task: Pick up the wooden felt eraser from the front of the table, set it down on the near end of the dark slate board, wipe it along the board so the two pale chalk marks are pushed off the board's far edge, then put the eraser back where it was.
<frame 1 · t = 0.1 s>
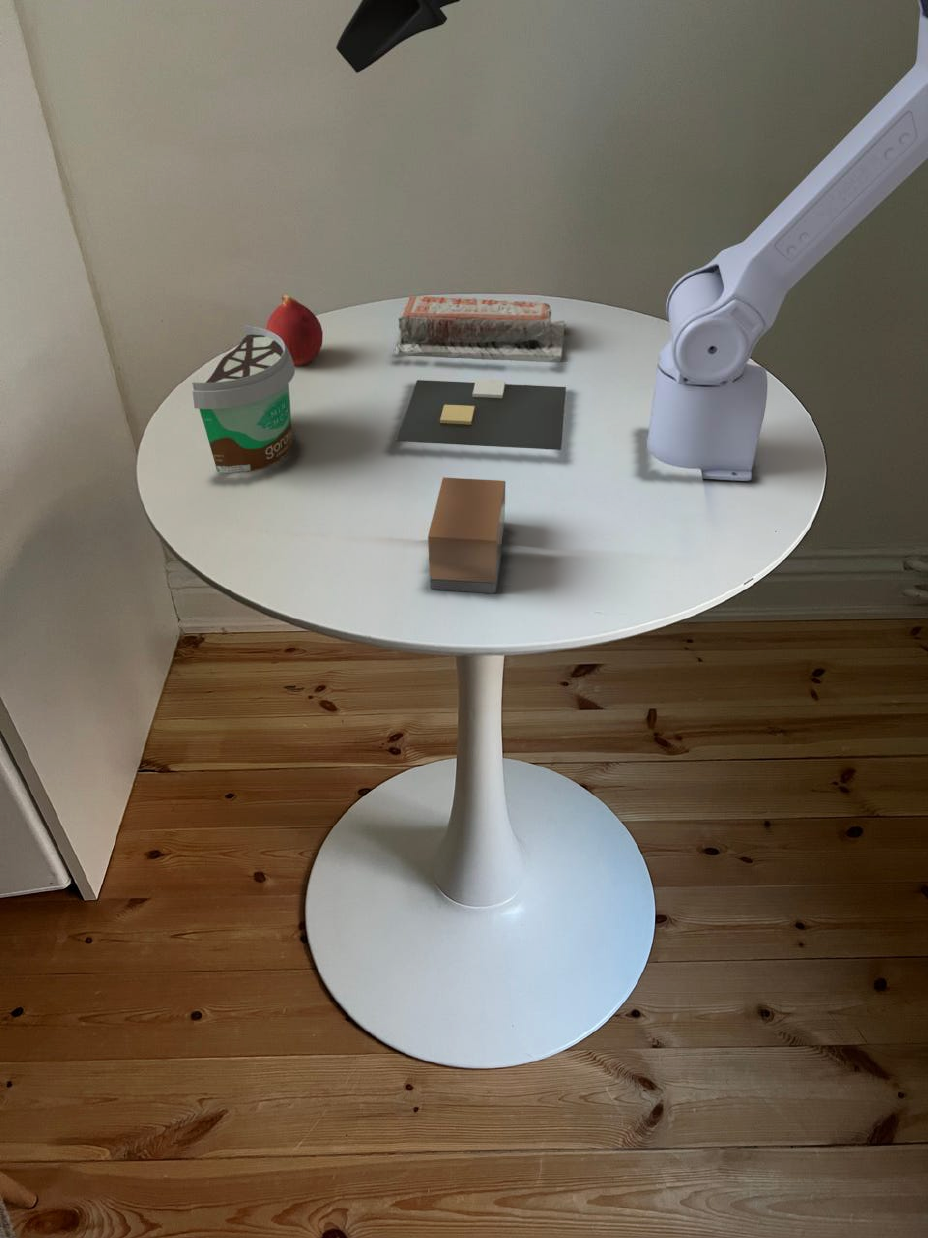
hand: (357, 48, 66), 32 cm above the table, tool tilted 50°, fingers open, 7 cm apart
food container: (271, 458, 85), on the table
chalk mark a: (489, 390, 92), point 1 cm above the table, touching slate board
eraser: (468, 559, 73), on the table
packaged product: (481, 348, 102), on the table
chalk mark b: (457, 416, 88), point 1 cm above the table, touching slate board
onion: (299, 369, 99), on the table
slate board: (484, 421, 89), on the table
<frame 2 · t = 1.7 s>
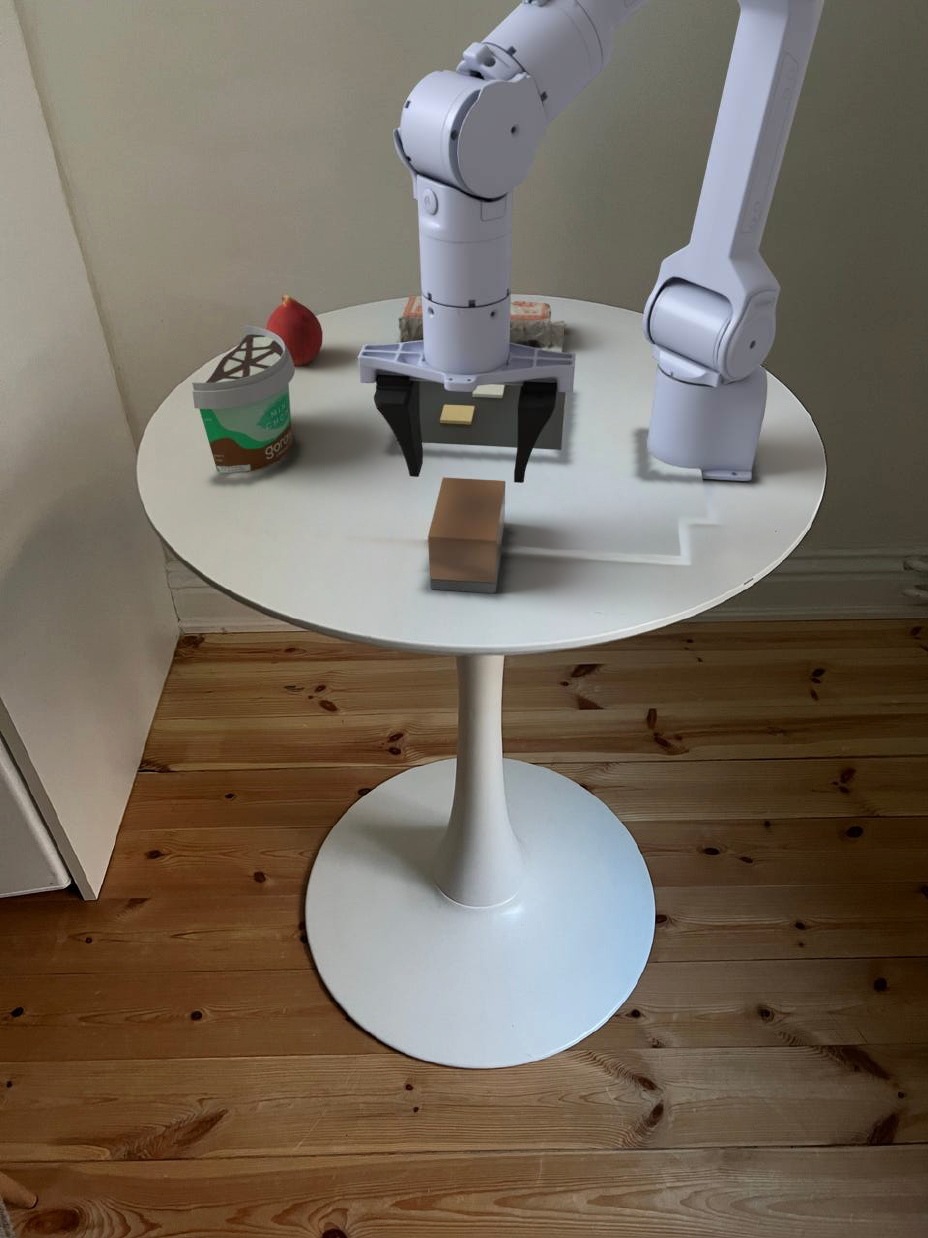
hand: (467, 472, 68), 8 cm above the table, tool pointing down, fingers open, 7 cm apart
nothing on the table moved.
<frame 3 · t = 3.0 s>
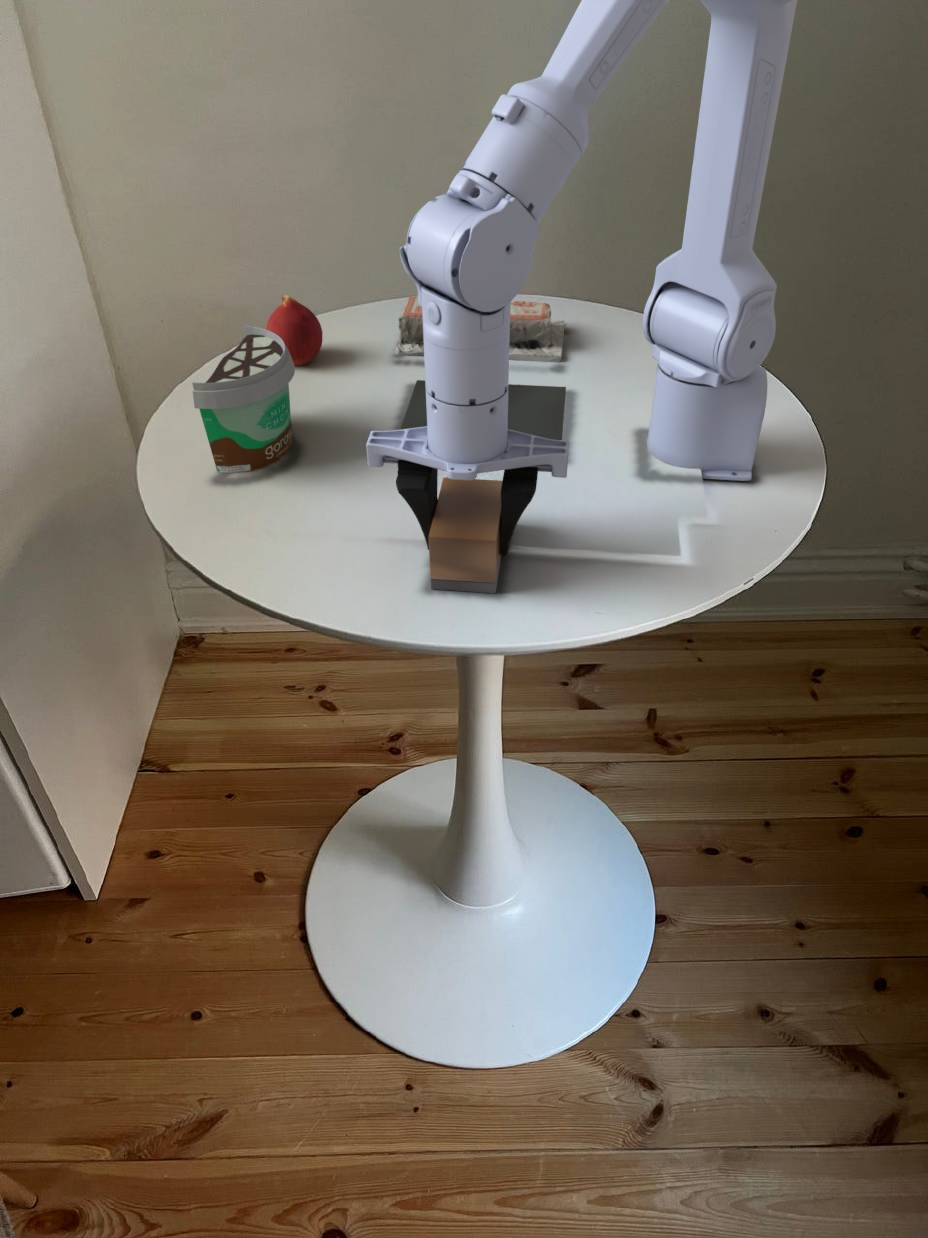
hand: (468, 545, 72), 1 cm above the table, tool pointing down, fingers closed on eraser, 5 cm apart
eraser: (469, 559, 73), on the table, touching gripper
everything else where it was.
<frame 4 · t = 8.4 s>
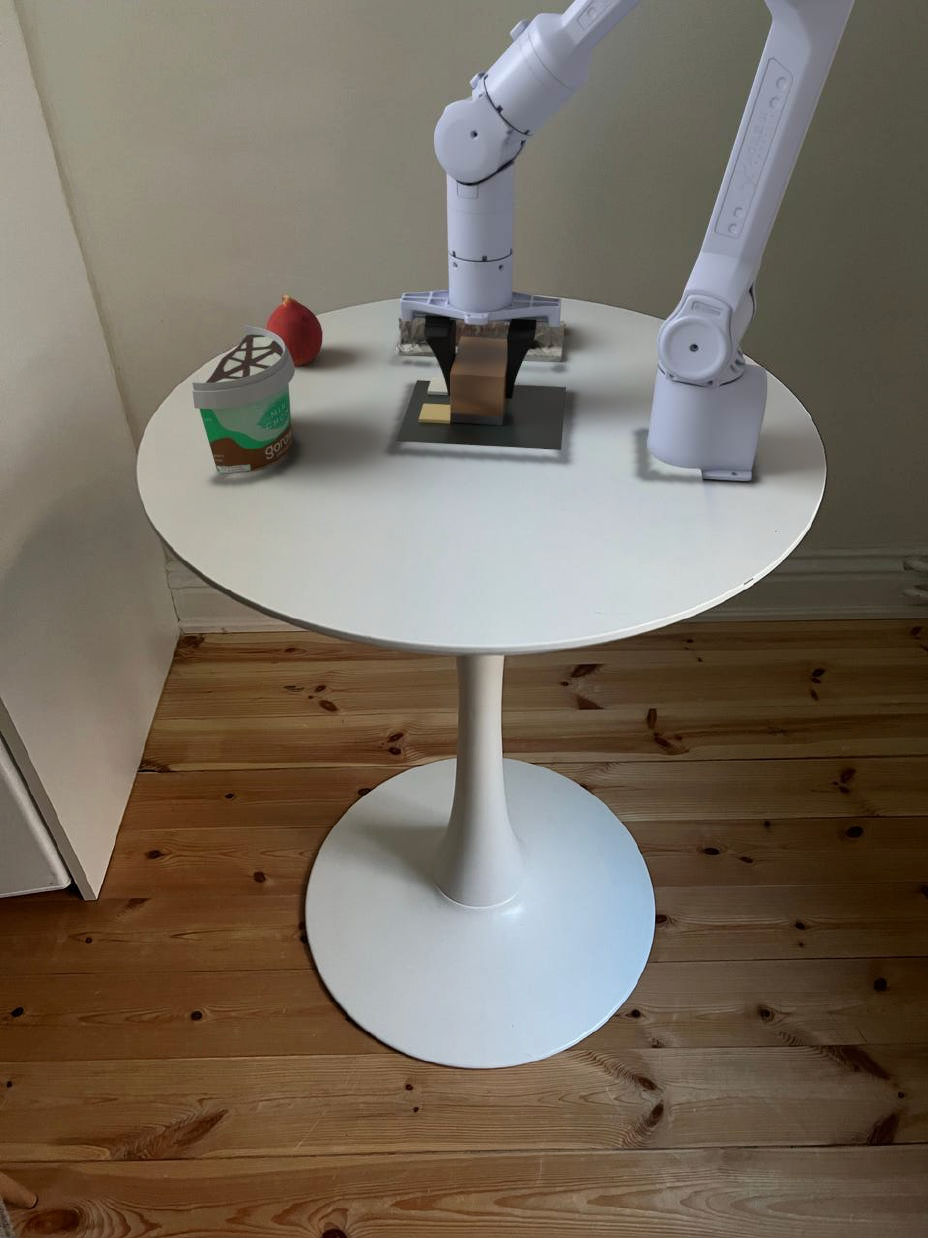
hand: (480, 392, 89), 2 cm above the table, tool pointing down, fingers closed on eraser, 5 cm apart
chalk mark a: (444, 388, 93), point 1 cm above the table
eraser: (480, 403, 90), point 1 cm above the table, touching chalk mark b, gripper
chalk mark b: (436, 415, 88), point 1 cm above the table, touching eraser, slate board
everything else where it was.
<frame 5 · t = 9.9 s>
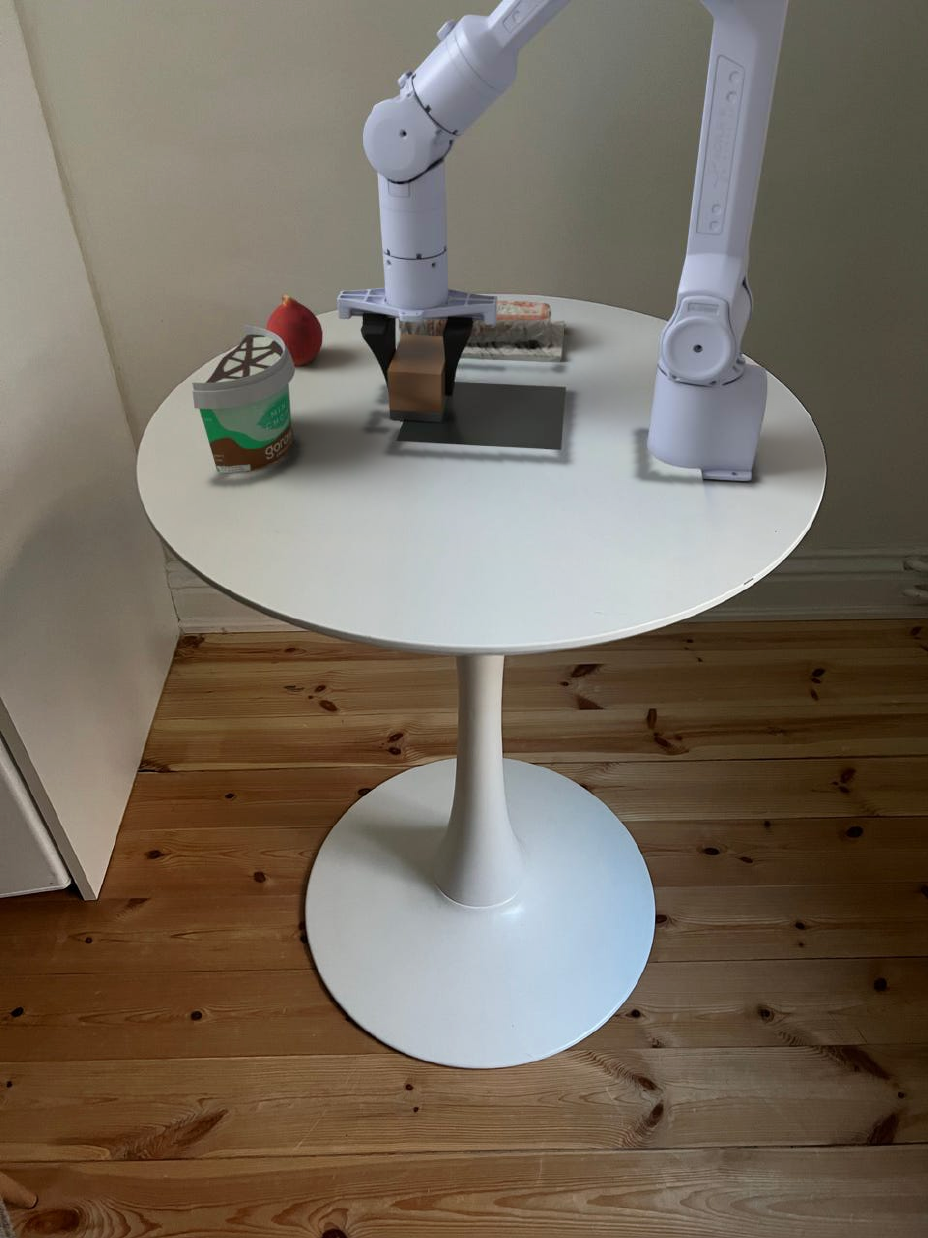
hand: (421, 389, 90), 2 cm above the table, tool pointing down, fingers closed on eraser, 5 cm apart
chalk mark a: (400, 391, 94), on the table, tilted 13°, touching slate board
eraser: (421, 400, 91), point 1 cm above the table, touching gripper
chalk mark b: (388, 419, 89), on the table, tilted 12°, touching slate board
everything else where it was.
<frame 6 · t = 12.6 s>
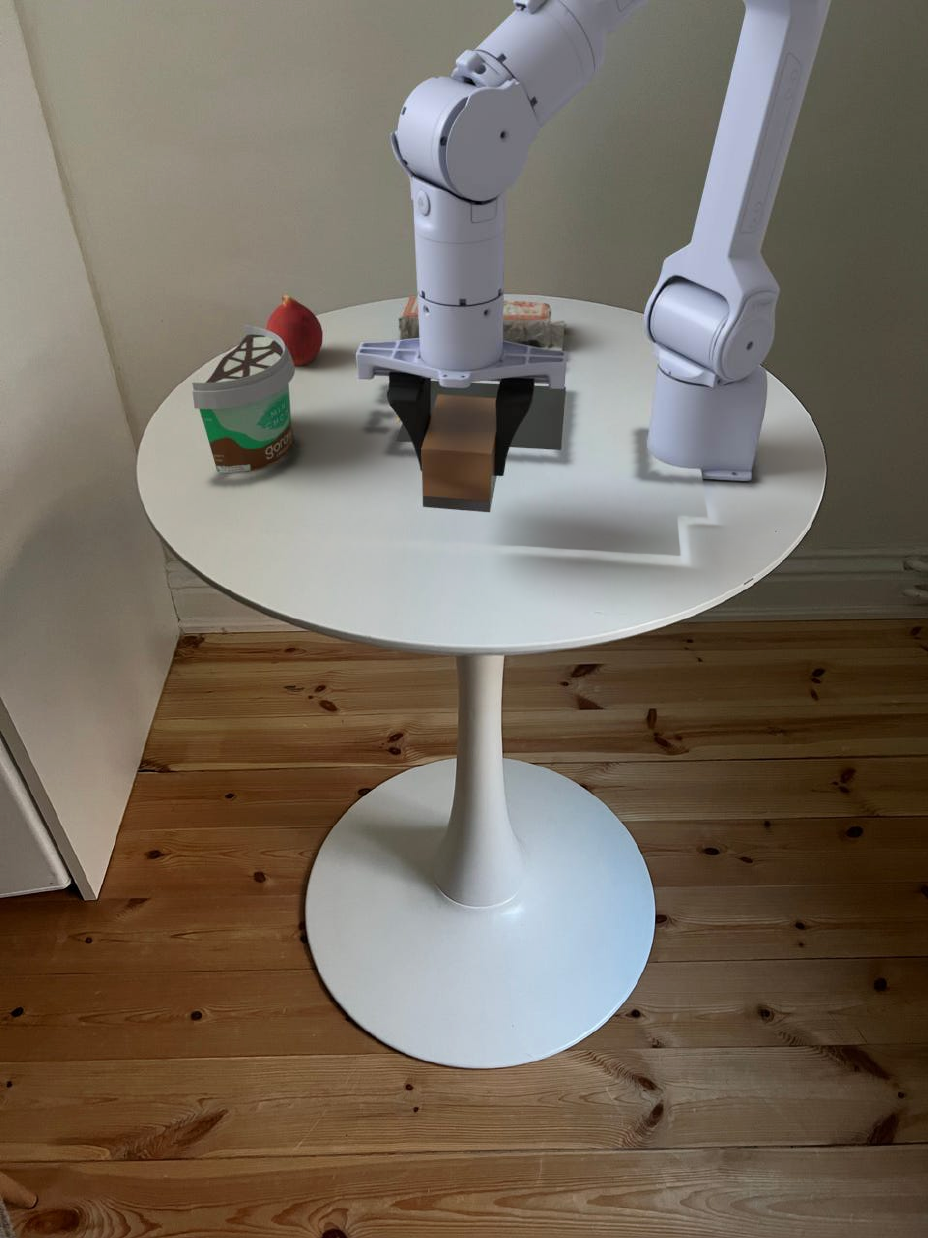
hand: (462, 466, 69), 7 cm above the table, tool pointing down, fingers closed on eraser, 5 cm apart
eraser: (463, 480, 70), point 6 cm above the table, touching gripper
everything else where it was.
when the fingers open (1 cm above the table, at t = 14.9 s): eraser stays where it is, on the table.
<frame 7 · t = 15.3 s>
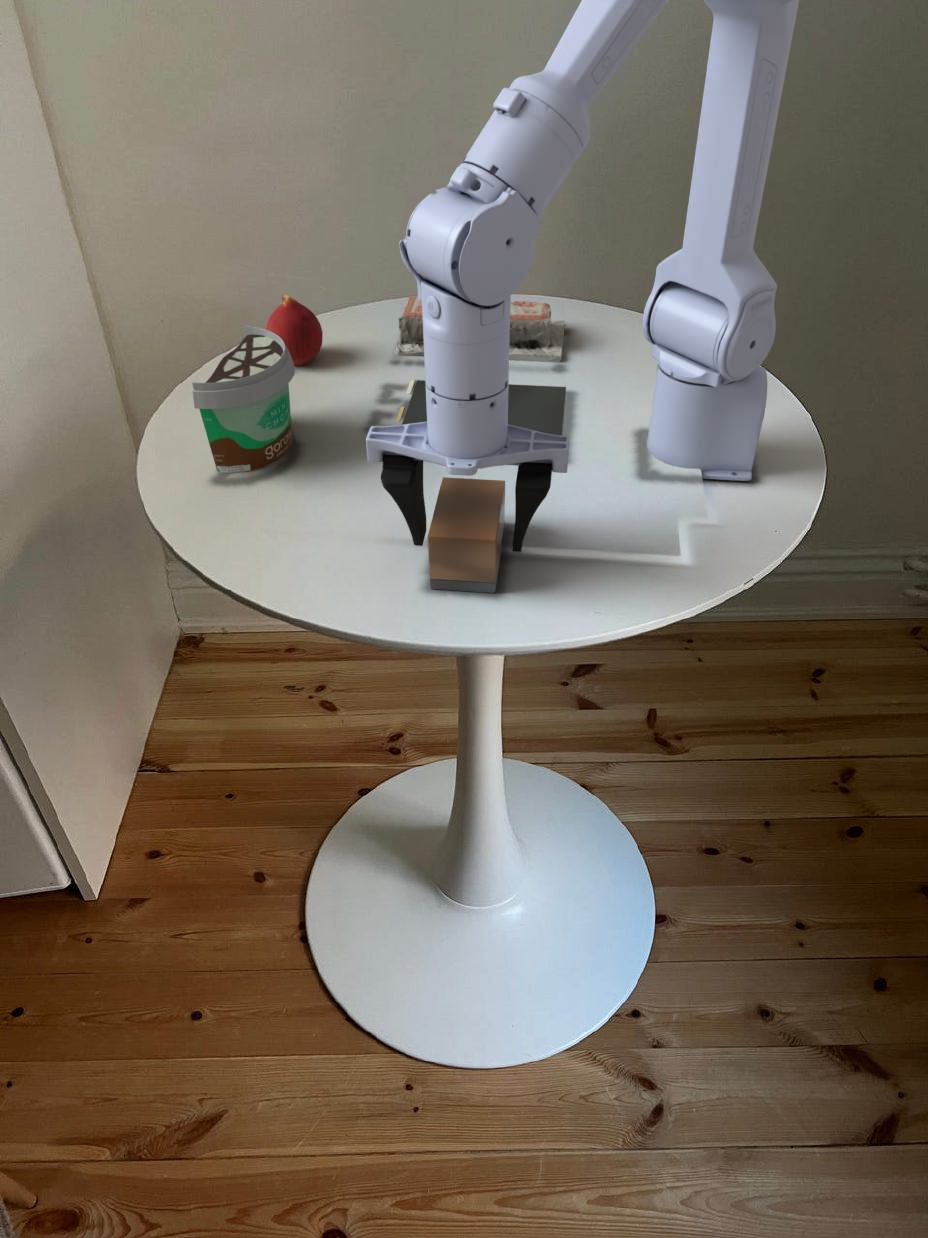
hand: (468, 541, 72), 2 cm above the table, tool pointing down, fingers open, 7 cm apart
eraser: (468, 559, 73), on the table
everything else where it was.
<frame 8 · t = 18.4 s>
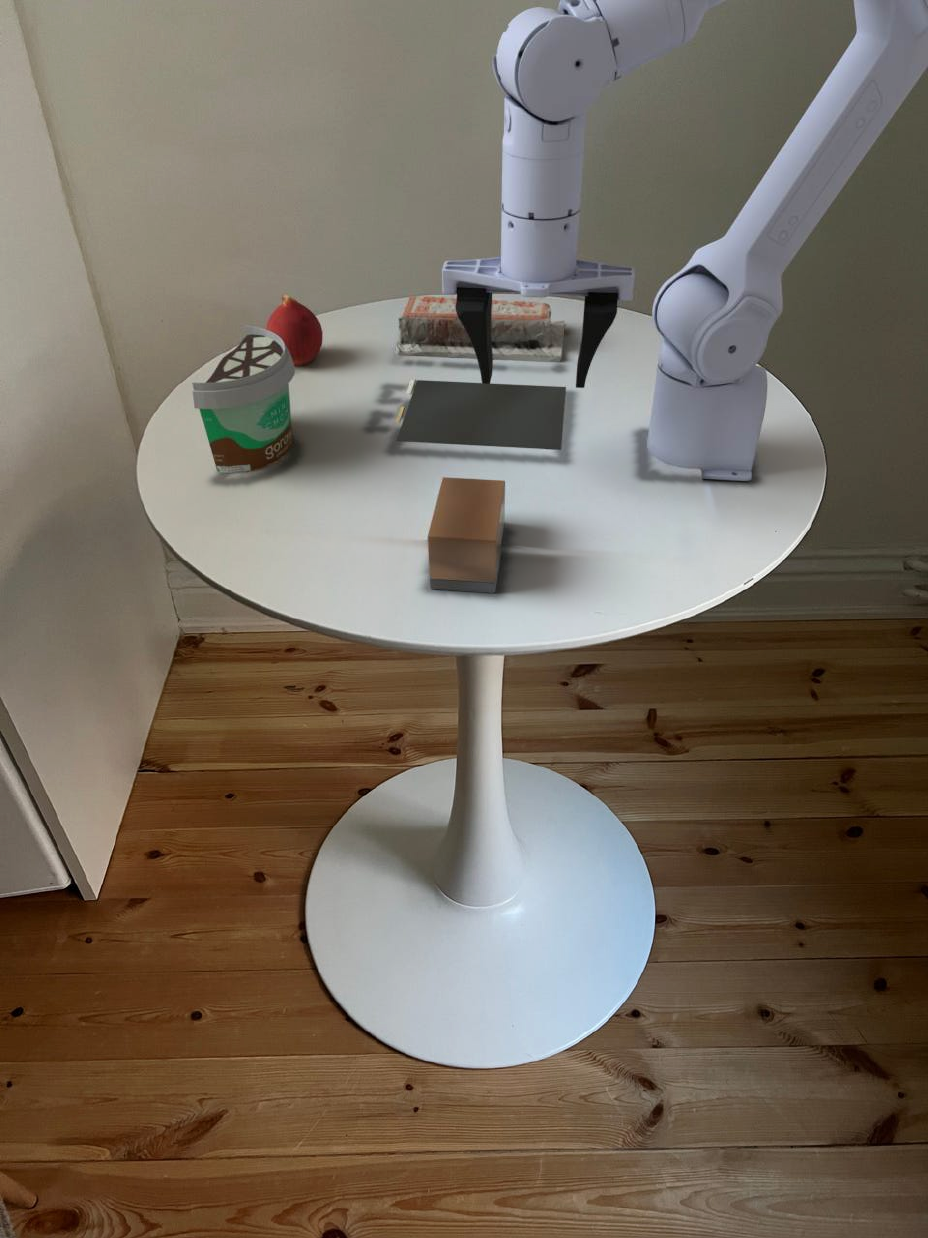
hand: (533, 380, 76), 9 cm above the table, tool pointing down, fingers open, 7 cm apart
nothing on the table moved.
at the end: chalk mark a on the table; chalk mark b on the table; eraser inside the target area (0.0 cm from its centre), on the table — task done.
